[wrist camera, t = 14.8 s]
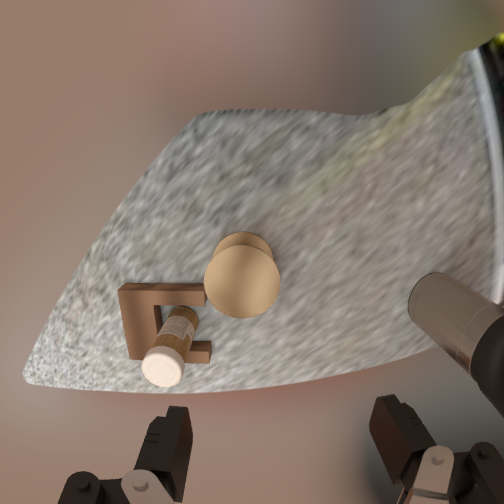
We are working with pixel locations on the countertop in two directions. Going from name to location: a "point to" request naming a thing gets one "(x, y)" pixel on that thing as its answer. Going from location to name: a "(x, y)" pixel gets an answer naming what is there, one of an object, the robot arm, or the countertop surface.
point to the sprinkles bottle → (171, 348)
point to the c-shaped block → (157, 315)
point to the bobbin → (242, 276)
